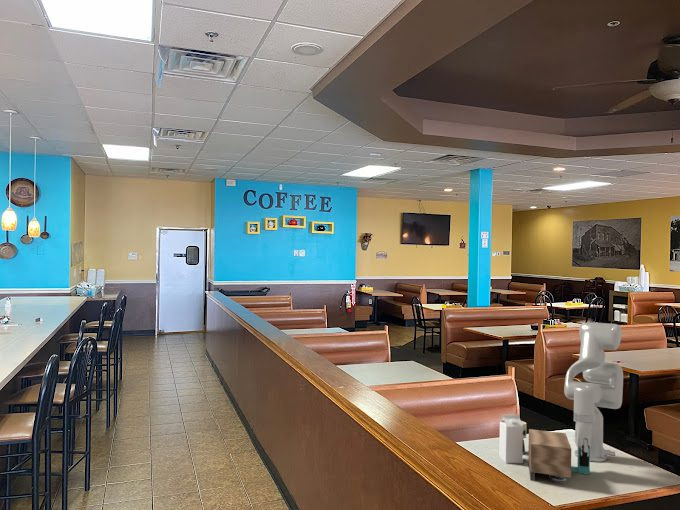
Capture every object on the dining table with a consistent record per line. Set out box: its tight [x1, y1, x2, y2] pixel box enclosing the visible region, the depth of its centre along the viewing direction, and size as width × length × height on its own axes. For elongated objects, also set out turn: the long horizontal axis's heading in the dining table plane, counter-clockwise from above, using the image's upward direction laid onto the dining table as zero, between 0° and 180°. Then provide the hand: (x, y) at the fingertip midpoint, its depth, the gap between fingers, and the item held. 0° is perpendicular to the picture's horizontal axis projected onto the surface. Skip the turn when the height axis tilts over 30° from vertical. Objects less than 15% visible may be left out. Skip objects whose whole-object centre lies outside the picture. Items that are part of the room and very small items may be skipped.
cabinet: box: [528, 428, 572, 482], centre depth 202 cm, size 14×20×14 cm
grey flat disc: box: [548, 474, 567, 484], centre depth 197 cm, size 6×6×1 cm
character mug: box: [521, 420, 527, 454], centre depth 228 cm, size 11×7×13 cm, turn 157°
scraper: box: [571, 446, 591, 475], centre depth 208 cm, size 19×14×10 cm
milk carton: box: [498, 413, 524, 464], centre depth 217 cm, size 7×7×19 cm
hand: (583, 464), depth 206 cm, fingers closed on scraper, 3 cm apart
